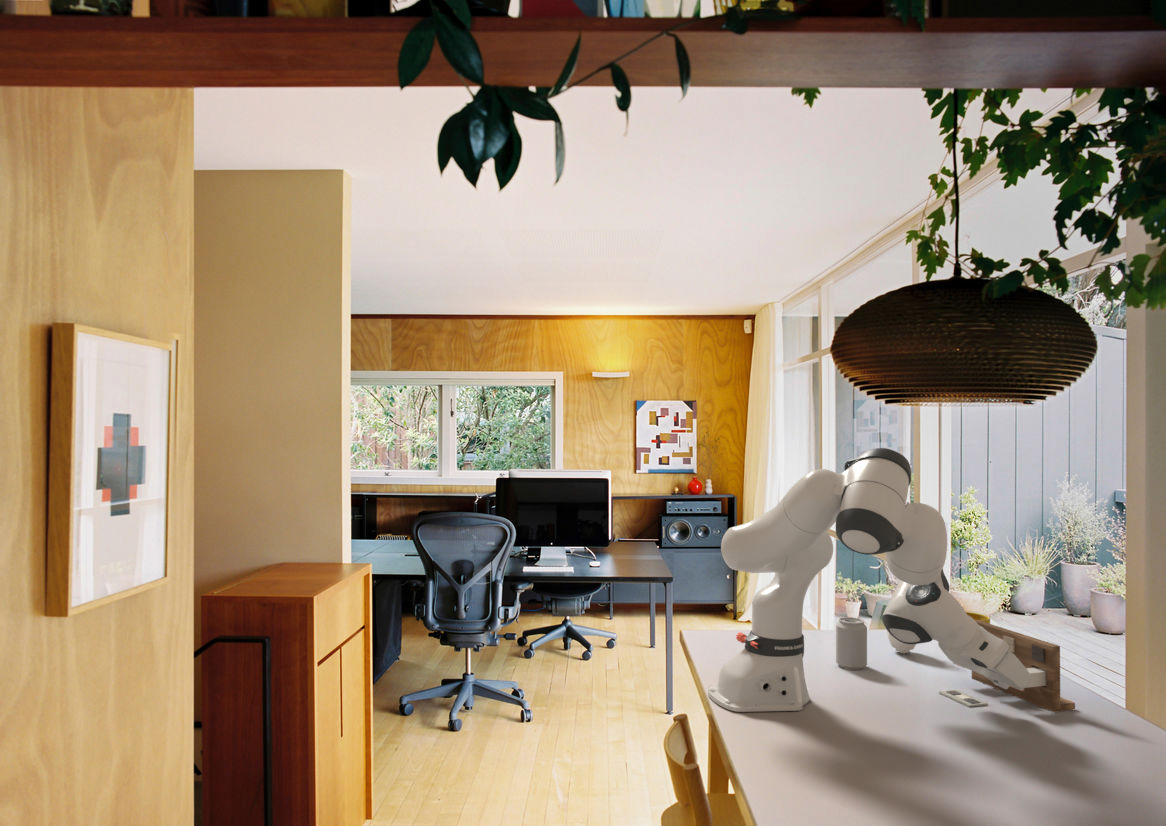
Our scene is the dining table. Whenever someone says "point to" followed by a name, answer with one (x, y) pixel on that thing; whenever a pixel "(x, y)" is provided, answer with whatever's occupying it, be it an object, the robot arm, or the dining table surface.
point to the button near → (1036, 677)
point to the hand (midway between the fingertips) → (1003, 685)
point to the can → (851, 643)
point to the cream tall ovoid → (900, 644)
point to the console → (1031, 657)
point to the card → (963, 698)
